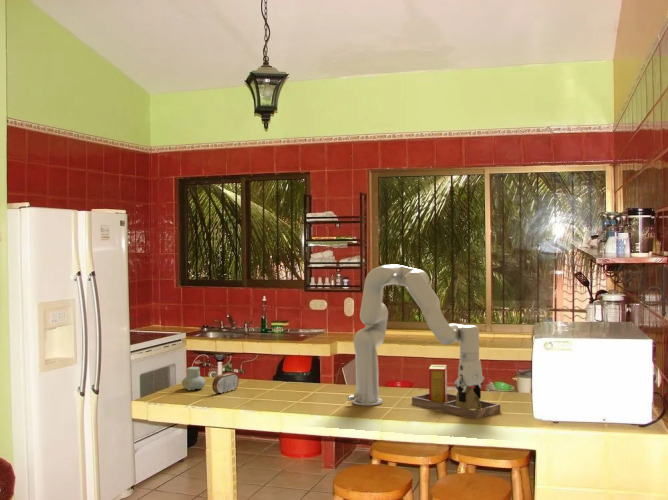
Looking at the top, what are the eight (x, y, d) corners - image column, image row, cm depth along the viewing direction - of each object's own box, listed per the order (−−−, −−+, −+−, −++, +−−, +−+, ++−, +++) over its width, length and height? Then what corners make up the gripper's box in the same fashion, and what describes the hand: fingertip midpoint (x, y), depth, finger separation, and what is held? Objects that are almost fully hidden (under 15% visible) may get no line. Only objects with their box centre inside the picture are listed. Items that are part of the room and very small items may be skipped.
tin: (235, 388, 326) (234, 370, 326) (240, 389, 324) (239, 371, 324) (211, 394, 314) (211, 376, 314) (216, 395, 312) (216, 377, 312)
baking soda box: (445, 407, 285) (444, 368, 285) (429, 406, 287) (428, 367, 286) (447, 401, 294) (446, 364, 294) (431, 401, 296) (431, 363, 296)
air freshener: (179, 388, 328) (179, 367, 327) (195, 386, 333) (194, 365, 333) (192, 392, 320) (191, 370, 319) (207, 389, 325) (207, 368, 325)
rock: (485, 400, 281) (461, 394, 285) (484, 386, 276) (460, 380, 280) (477, 421, 274) (453, 414, 278) (476, 407, 269) (451, 401, 273)
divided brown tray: (474, 419, 266) (474, 411, 266) (412, 404, 291) (411, 396, 291) (500, 412, 276) (500, 404, 276) (438, 397, 301) (437, 391, 301)
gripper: (462, 360, 269) (462, 405, 269) (490, 355, 280) (491, 398, 280) (447, 357, 274) (447, 401, 275) (476, 352, 285) (476, 395, 286)
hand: (469, 399), depth 277 cm, fingers closed on rock, 8 cm apart
